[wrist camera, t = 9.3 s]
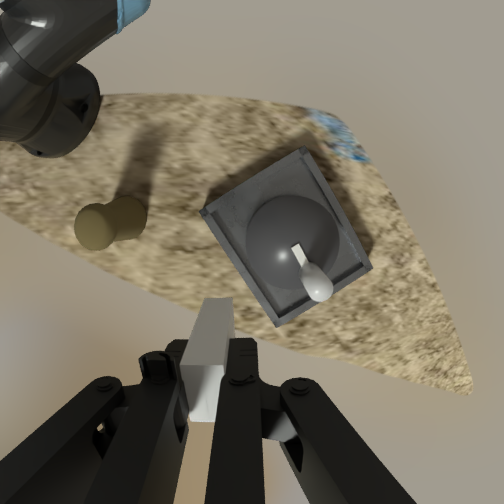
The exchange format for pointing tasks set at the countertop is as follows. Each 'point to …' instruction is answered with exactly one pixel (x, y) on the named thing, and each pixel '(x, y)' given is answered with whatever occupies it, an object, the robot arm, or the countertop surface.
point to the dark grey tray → (251, 199)
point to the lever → (294, 245)
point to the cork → (109, 222)
